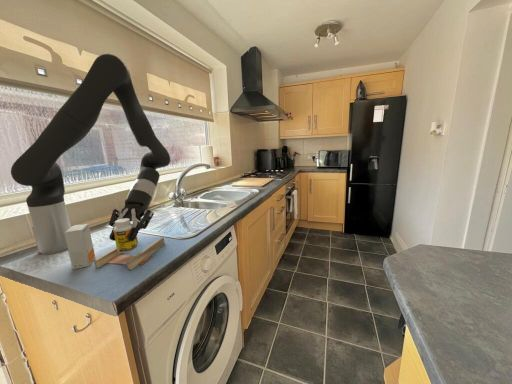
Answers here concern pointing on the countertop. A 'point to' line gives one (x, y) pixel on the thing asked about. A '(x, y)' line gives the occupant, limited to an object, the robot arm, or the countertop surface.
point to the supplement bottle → (124, 236)
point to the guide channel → (129, 256)
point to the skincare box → (80, 246)
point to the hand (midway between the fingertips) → (121, 240)
